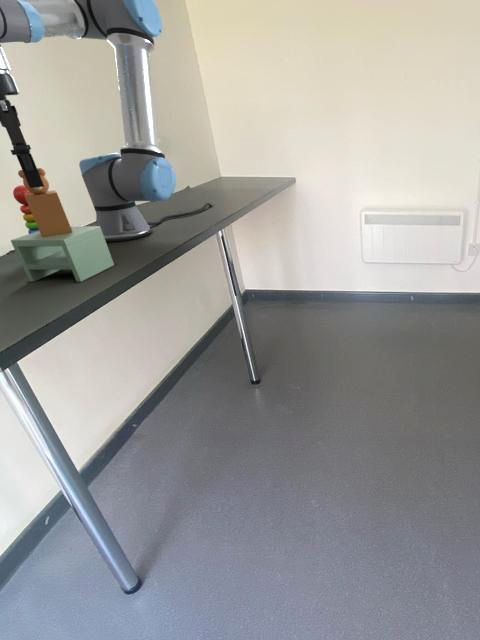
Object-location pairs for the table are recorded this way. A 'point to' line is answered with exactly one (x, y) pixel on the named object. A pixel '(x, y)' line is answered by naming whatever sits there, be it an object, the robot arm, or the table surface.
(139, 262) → the table surface
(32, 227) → the stacking toy
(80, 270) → the pale green square stand
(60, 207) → the plush bear
